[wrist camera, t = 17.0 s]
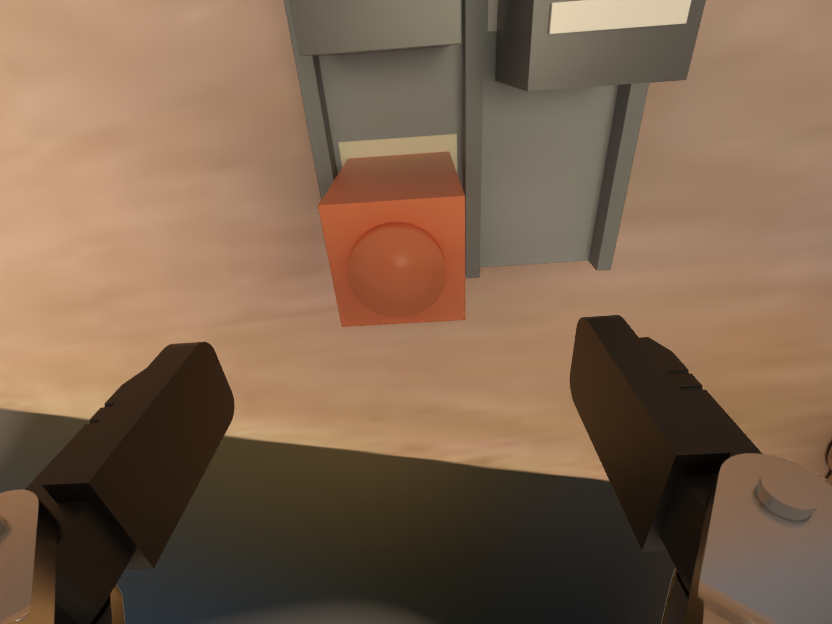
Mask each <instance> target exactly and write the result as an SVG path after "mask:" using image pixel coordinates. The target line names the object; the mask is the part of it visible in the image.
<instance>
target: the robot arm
mask: <svg viewBox="0 0 832 624" xmlns="http://www.w3.org/2000/svg"><path fill="white" fill-rule="evenodd" d="M570 388H571V394H572V398H573V401H574V404H575V406H576V408H577V411H578V413H579V415H580V417H581V419H582V421H583V424H584V426H585V428H586V430H587V432H588V435H589V437H590V439H591V441H592V443H593V446H594V448H595V450H596V452H597V454H598V456H599V459H600V461H601V463H602V465H603V467H604V470H605V472H606V474H607V476H608V478H609V480H610V483H611V485H612V487H613V489H614V491H615V494H616V496H617V498H618V500H619V502H620V505H621V507H622V509H623V511H624V513H625V515H626V518H627V520H628V522H629V524H630V526H631V529H632V531H633V533H634V535H635V537H636V539H637V542H638V544H639V546H640V548H641V550H642V551H667V552H668V553H669V556H670V557H671V559H672V561H673V563H674V565H675V567H676V569H675V571H674V573H673V576H672V580H671V584H670V588H669V592H668V597H667V601H666V606H665V610H664V614H663V619H662V623H661V624H832V486H831V485H832V473H831V475H830V477H829V478H828V479H827V481H828V482H829V483H830V484H831V485H830V484H829V483H827V482H826V481H824V480H823V479H822V478H820V477H819V476H817V475H816V474H814V473H812V472H811V471H809V470H807V469H805V468H803V467H801V466H799V465H797V464H795V463H792V462H790V461H787V460H784V459H781V458H778V457H774V456H770V455H765V454H762V453H761V452H760V451H759V450H758V448H757V447H756V446H755V445H754V444H753V443H752V442H751V440H750V439H749V438H748V437H747V436H746V435H745V434H744V433H743V431H742V430H741V429H740V428H739V427H738V426H737V425H736V423H735V422H734V421H733V420H732V419H731V418H730V417H729V416H728V414H727V413H726V412H725V411H724V410H723V409H722V408H721V406H720V405H719V404H718V403H717V402H716V401H715V400H714V399H713V397H712V396H711V395H710V394H709V393H708V392H707V391H706V390H703V389H702V385H701V384H700V383H699V381H698V380H697V379H696V378H695V377H694V376H693V375H692V374H689V373H688V369H687V368H686V367H685V366H684V364H683V363H682V362H681V361H680V360H679V359H678V358H677V357H676V355H675V354H674V353H673V352H672V351H670V350H669V349H667V348H665V347H664V346H662V345H660V344H659V343H657V342H655V341H654V340H652V339H650V338H649V337H644V338H639V337H638V336H637V335H636V334H635V332H634V331H633V330H632V329H631V327H630V326H629V325H628V324H627V322H626V321H625V320H624V319H623V318H622V317H621V316H619V315H612V316H597V317H583V318H580V320H579V321H578V324H577V328H576V335H575V343H574V350H573V357H572V364H571V372H570ZM233 414H234V398H233V394H232V391H231V389H230V386H229V384H228V382H227V379H226V377H225V374H224V372H223V370H222V367H221V365H220V362H219V360H218V358H217V355H216V353H215V351H214V348H213V347H212V346H211V345H210V344H209V343H207V342H195V343H180V344H170V345H168V346H166V347H165V348H164V349H163V350H162V351H161V353H160V354H159V355H158V356H157V357H156V358H155V359H154V360H153V362H152V363H151V364H150V365H149V366H148V367H147V368H146V369H145V370H143V371H142V372H140V373H139V374H137V375H136V376H134V377H133V378H131V379H130V380H129V381H127V382H126V383H124V384H123V385H122V386H121V387H120V388H119V389H118V390H117V391H116V392H115V393H114V394H113V395H112V396H111V397H110V398H109V400H108V401H107V402H106V403H105V407H104V408H100V409H99V410H98V411H97V412H96V414H95V415H94V416H93V417H92V418H91V419H90V423H89V424H85V425H84V426H83V428H82V429H81V430H80V431H79V432H78V433H77V434H76V435H75V436H74V437H73V438H72V439H71V441H70V442H69V443H68V444H67V445H66V446H65V447H64V448H63V449H62V450H61V451H60V453H58V455H57V456H56V457H55V458H54V459H53V460H52V461H51V462H50V463H49V464H48V465H47V466H46V468H44V470H43V471H42V472H41V473H40V474H39V475H38V476H37V477H36V478H35V479H34V480H33V482H32V483H31V484H30V485H29V486H28V487H27V488H26V489H25V490H12V491H8V492H4V493H1V494H0V624H125V618H124V608H123V599H122V594H121V591H120V589H119V588H118V587H117V585H116V584H117V582H118V580H119V578H120V577H121V575H122V573H123V572H124V570H125V569H150V568H154V567H155V565H156V564H157V562H158V560H159V558H160V556H161V554H162V552H163V550H164V548H165V547H166V545H167V543H168V541H169V539H170V537H171V535H172V533H173V531H174V529H175V528H176V526H177V524H178V522H179V520H180V518H181V516H182V514H183V512H184V511H185V509H186V507H187V505H188V503H189V501H190V499H191V497H192V495H193V493H194V491H195V489H196V488H197V486H198V484H199V482H200V480H201V478H202V476H203V474H204V473H205V471H206V469H207V467H208V465H209V463H210V461H211V459H212V457H213V455H214V454H215V452H216V449H217V448H218V446H219V444H220V442H221V440H222V438H223V436H224V435H225V433H226V431H227V429H228V427H229V425H230V423H231V421H232V418H233ZM828 465H829V467H830V469H831V472H832V446H831V448H830V451H829V454H828Z"/></svg>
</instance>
